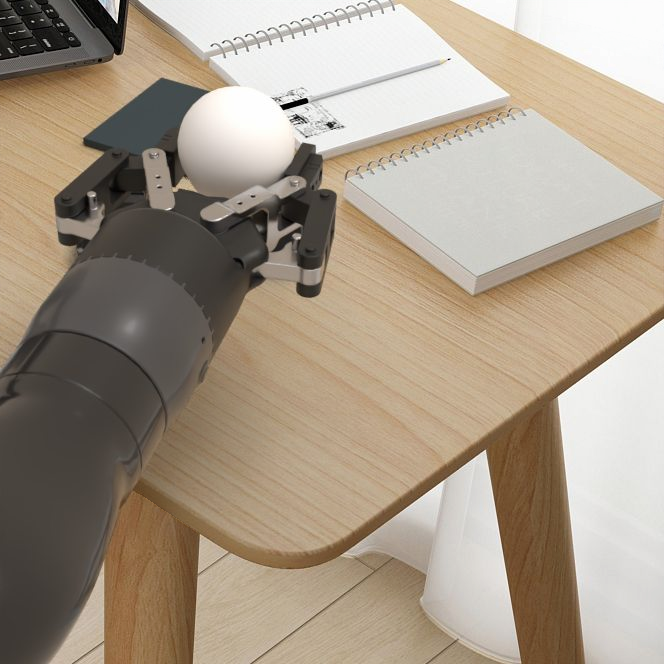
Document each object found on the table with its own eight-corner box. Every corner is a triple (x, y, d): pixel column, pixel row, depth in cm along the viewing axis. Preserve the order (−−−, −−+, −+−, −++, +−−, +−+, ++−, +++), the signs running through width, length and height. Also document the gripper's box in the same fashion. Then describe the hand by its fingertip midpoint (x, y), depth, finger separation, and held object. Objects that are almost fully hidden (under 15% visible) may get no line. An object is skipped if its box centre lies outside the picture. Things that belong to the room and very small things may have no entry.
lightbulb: (287, 236, 70) (294, 66, 63) (291, 301, 66) (299, 124, 59) (182, 235, 70) (178, 63, 63) (179, 300, 65) (173, 122, 58)
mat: (83, 144, 89) (82, 137, 89) (161, 83, 97) (161, 77, 97) (212, 185, 86) (211, 177, 86) (282, 118, 94) (282, 111, 93)
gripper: (288, 298, 49) (383, 108, 62) (-31, 229, 52) (123, 60, 64) (283, 429, 54) (372, 228, 67) (-9, 360, 56) (131, 179, 69)
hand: (250, 146), depth 65 cm, fingers closed on lightbulb, 6 cm apart
